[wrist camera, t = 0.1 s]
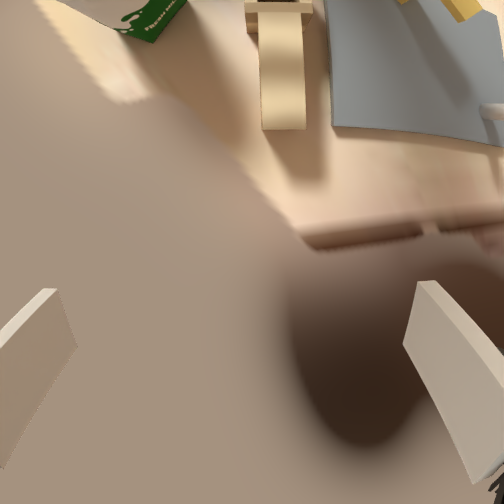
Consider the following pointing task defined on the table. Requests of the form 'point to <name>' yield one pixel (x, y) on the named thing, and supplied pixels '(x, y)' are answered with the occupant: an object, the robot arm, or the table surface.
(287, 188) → the table surface
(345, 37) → the deck
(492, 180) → the table surface
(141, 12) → the milk carton
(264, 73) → the link
